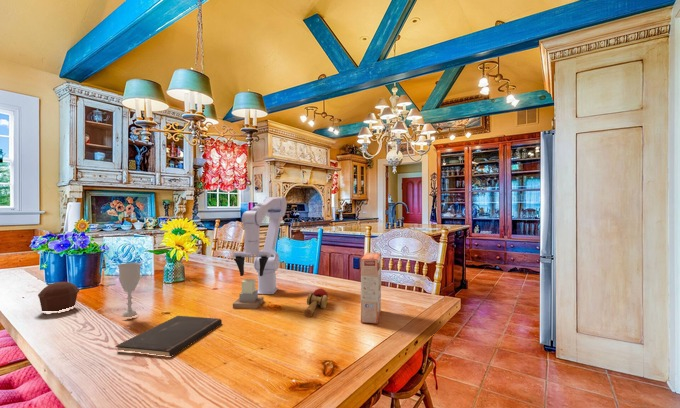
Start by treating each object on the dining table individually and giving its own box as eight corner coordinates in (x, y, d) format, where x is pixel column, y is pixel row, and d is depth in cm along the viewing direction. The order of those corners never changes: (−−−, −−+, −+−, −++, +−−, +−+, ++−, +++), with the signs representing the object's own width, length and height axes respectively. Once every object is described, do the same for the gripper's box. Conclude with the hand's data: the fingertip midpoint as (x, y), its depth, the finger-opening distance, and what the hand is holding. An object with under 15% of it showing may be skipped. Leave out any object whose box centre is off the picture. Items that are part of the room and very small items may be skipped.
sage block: (245, 290, 122) (245, 279, 122) (255, 290, 122) (255, 279, 122) (241, 293, 118) (241, 281, 118) (252, 293, 118) (252, 281, 118)
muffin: (71, 313, 110) (71, 285, 110) (30, 317, 106) (30, 288, 106) (84, 304, 121) (84, 278, 121) (47, 307, 117) (48, 280, 117)
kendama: (321, 322, 106) (333, 299, 123) (317, 304, 105) (329, 284, 123) (300, 324, 108) (314, 301, 125) (296, 306, 107) (311, 286, 124)
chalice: (112, 319, 105) (112, 265, 105) (133, 313, 111) (134, 262, 111) (124, 322, 101) (125, 267, 101) (146, 316, 107) (146, 263, 108)
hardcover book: (115, 354, 81) (115, 345, 81) (177, 322, 103) (177, 315, 103) (170, 360, 78) (170, 351, 78) (221, 325, 100) (221, 318, 100)
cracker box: (378, 324, 99) (378, 258, 100) (360, 323, 101) (359, 258, 101) (382, 310, 113) (381, 252, 113) (365, 309, 114) (365, 252, 115)
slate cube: (243, 297, 123) (243, 290, 123) (257, 297, 123) (257, 290, 123) (239, 302, 117) (239, 294, 117) (254, 302, 118) (254, 294, 118)
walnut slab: (241, 302, 125) (241, 296, 125) (263, 303, 124) (263, 296, 124) (232, 310, 116) (232, 303, 116) (256, 310, 115) (256, 303, 115)
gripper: (230, 241, 120) (229, 277, 120) (267, 242, 120) (267, 277, 119) (236, 240, 127) (236, 274, 127) (272, 240, 127) (271, 274, 126)
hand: (251, 275), depth 124 cm, fingers open, 7 cm apart
